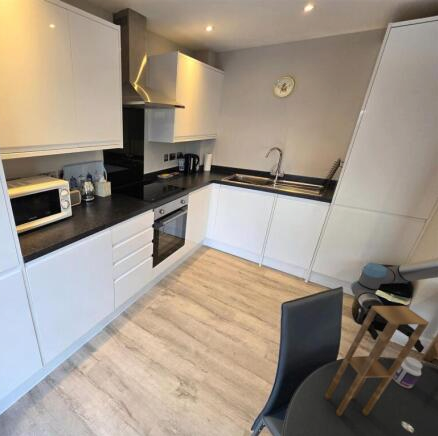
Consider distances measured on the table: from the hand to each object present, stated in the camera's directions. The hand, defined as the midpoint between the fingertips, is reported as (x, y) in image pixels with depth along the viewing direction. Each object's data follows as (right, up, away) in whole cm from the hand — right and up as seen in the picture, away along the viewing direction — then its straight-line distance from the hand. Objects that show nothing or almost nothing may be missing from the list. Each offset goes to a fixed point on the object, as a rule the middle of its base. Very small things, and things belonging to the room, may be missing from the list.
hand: (398, 343), depth 91 cm
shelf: (-29, +22, -28) cm, 46 cm away
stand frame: (-31, -13, -14) cm, 36 cm away
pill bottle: (-4, -11, -5) cm, 13 cm away
